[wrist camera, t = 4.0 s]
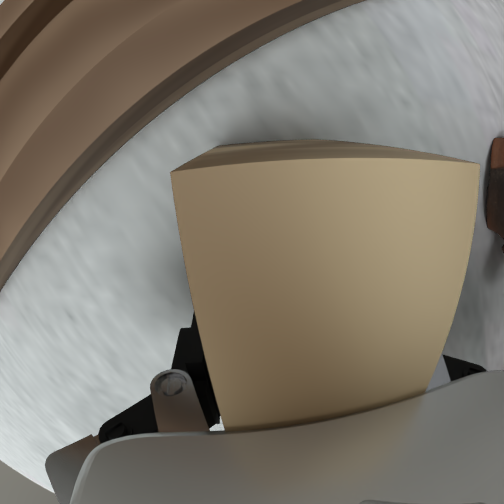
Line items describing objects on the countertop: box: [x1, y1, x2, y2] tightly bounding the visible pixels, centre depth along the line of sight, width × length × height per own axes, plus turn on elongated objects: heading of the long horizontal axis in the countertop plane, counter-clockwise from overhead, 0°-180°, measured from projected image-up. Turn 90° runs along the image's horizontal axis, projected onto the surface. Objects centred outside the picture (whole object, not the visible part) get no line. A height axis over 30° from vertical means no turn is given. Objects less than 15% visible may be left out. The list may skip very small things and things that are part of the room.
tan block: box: [170, 139, 480, 432], centre depth 10 cm, size 4×14×9 cm, turn 5°
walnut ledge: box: [0, 0, 365, 291], centre depth 8 cm, size 9×30×4 cm, turn 125°
